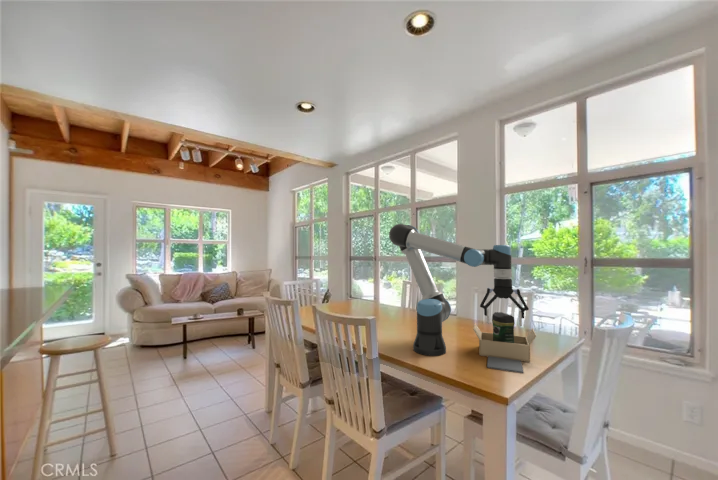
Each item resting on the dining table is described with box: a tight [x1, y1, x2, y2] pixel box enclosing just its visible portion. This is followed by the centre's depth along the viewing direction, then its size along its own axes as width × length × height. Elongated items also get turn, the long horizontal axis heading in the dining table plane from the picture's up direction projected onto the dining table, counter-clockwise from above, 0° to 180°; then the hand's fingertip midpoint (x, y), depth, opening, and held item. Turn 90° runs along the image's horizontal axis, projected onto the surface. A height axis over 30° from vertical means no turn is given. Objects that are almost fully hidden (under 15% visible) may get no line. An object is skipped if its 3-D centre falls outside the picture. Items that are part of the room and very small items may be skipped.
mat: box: [486, 356, 524, 374], centre depth 126 cm, size 13×13×1 cm
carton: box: [473, 322, 537, 363], centre depth 140 cm, size 25×15×11 cm, turn 66°
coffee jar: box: [491, 311, 516, 343], centre depth 140 cm, size 10×8×19 cm
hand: (504, 324), depth 140 cm, fingers open, 13 cm apart
